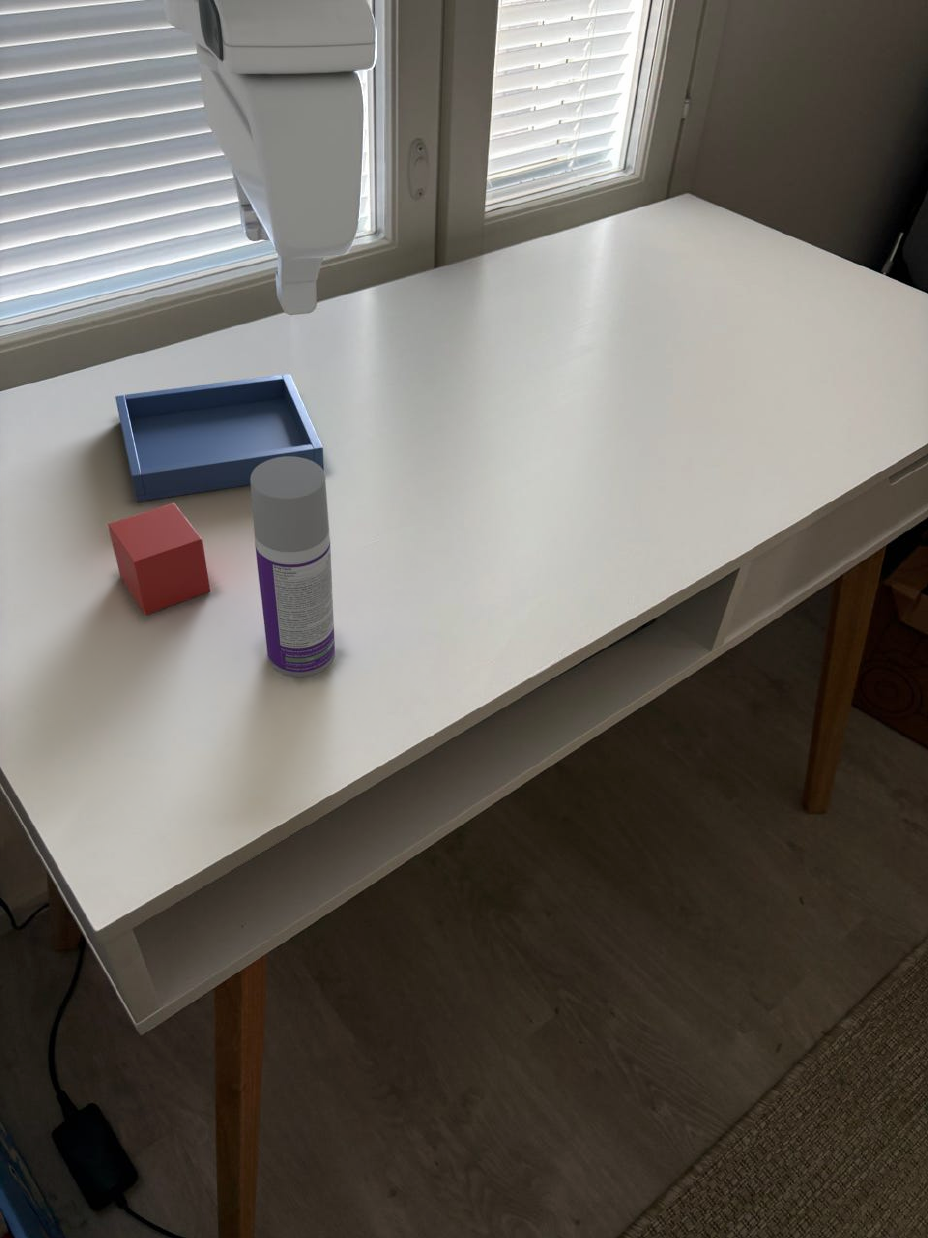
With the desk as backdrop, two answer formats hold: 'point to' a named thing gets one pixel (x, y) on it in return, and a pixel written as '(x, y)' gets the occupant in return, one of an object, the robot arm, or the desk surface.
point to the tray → (212, 434)
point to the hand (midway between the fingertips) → (277, 269)
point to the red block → (159, 558)
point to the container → (294, 564)
